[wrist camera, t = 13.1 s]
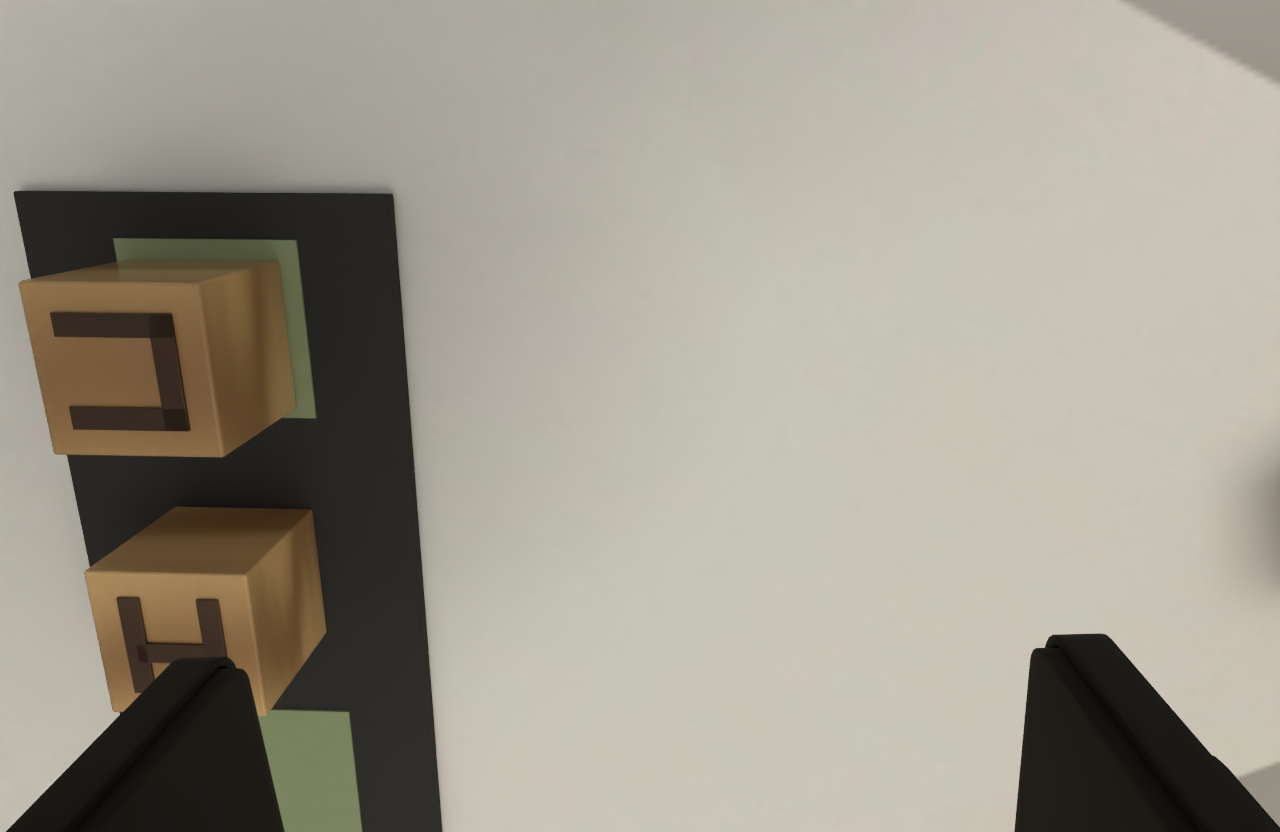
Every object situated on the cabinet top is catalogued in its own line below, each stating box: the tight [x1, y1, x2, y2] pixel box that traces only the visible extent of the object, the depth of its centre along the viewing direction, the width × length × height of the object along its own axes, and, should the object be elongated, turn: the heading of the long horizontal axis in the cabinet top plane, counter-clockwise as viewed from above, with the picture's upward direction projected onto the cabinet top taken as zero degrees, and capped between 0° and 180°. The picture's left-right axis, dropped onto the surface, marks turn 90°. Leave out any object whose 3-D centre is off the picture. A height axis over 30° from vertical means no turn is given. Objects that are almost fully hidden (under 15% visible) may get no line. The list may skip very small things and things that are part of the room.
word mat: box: [14, 191, 442, 832], centre depth 28 cm, size 24×11×1 cm, turn 0°
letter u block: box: [19, 259, 296, 457], centre depth 23 cm, size 4×4×5 cm
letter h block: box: [84, 507, 326, 716], centre depth 26 cm, size 4×4×5 cm
